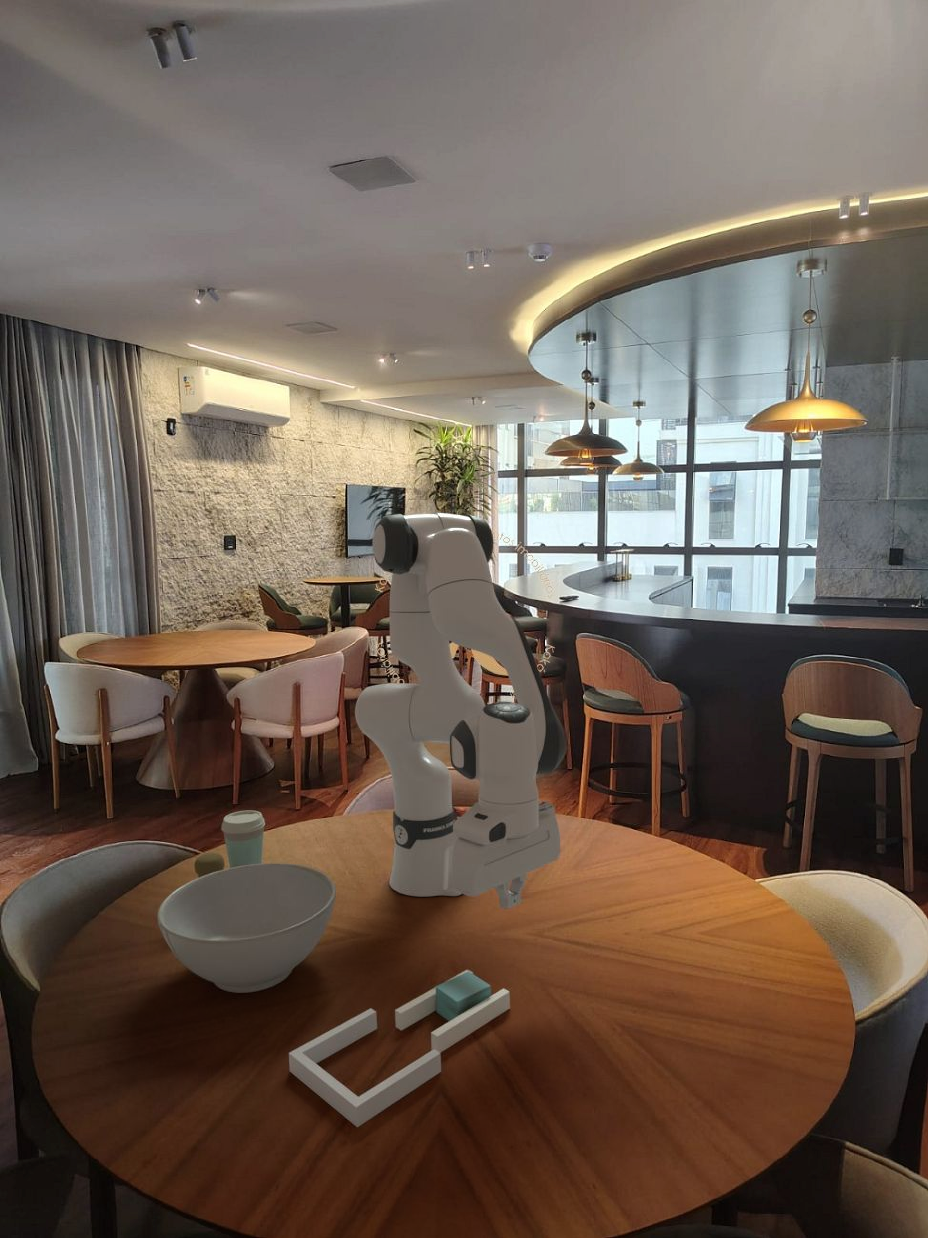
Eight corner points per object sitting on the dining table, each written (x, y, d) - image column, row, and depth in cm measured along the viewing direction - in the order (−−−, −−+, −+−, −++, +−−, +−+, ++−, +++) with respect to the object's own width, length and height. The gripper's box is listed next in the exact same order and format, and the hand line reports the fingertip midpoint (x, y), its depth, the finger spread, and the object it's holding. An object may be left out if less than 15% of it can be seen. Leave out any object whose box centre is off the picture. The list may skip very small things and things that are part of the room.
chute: (467, 985, 122) (467, 969, 122) (510, 1008, 116) (509, 991, 115) (395, 1027, 112) (394, 1010, 112) (437, 1054, 106) (437, 1036, 106)
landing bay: (371, 1025, 113) (370, 1008, 112) (441, 1071, 103) (440, 1053, 102) (289, 1071, 104) (288, 1053, 103) (357, 1127, 93) (356, 1107, 93)
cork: (235, 906, 150) (231, 849, 149) (222, 922, 144) (218, 862, 143) (203, 905, 151) (199, 848, 150) (189, 921, 145) (185, 862, 144)
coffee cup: (276, 867, 167) (272, 811, 166) (252, 885, 159) (248, 826, 158) (240, 863, 170) (237, 807, 168) (215, 880, 162) (211, 822, 160)
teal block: (469, 997, 119) (468, 971, 119) (491, 1012, 115) (490, 985, 115) (436, 1013, 115) (435, 986, 115) (458, 1029, 112) (457, 1002, 111)
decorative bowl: (123, 1002, 120) (116, 924, 119) (236, 919, 145) (232, 854, 144) (275, 1039, 110) (270, 955, 109) (369, 943, 135) (366, 874, 134)
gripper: (538, 794, 129) (539, 878, 130) (444, 826, 114) (446, 921, 116) (569, 802, 124) (570, 889, 125) (475, 837, 110) (477, 935, 111)
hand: (510, 905), depth 120 cm, fingers closed
